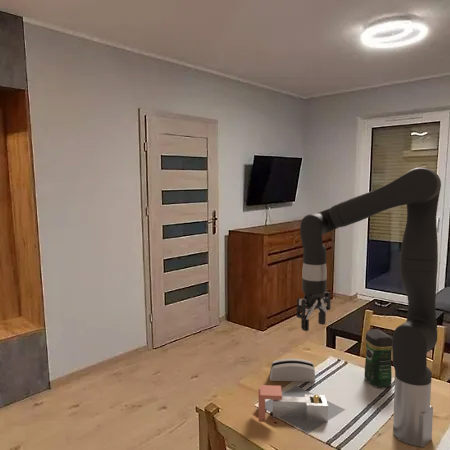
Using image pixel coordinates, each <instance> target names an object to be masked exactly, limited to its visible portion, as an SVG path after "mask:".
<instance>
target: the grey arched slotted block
mask: <svg viewBox="0 0 450 450" xmlns="http://www.w3.org/2000/svg"><path fill="white" fill-rule="evenodd" d="M315 373H316V372H315V365H314V363H313V361H310V360H307V359H302V358H282V359H277V360H273V361H272V362H271V366H270V371H269V375H268V378H269V380H270V382H305V383H306V382H311V383H313V382H316V374H315Z"/></svg>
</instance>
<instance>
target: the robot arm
mask: <svg viewBox="0 0 450 450" xmlns="http://www.w3.org/2000/svg"><path fill="white" fill-rule="evenodd" d="M441 181H442V180H441V178H440V176H439V175H438V174H437V172H435V170H432V169H430V168H426V167H415V168H412V169H410V170H408V171H407V172H406V173H405V174H403V175H401V176H400V177H398V178H396V179H394V180H393V181H391V182H388V183H387V184H385V185H383V186H381V187H379V188H377V189H374V190H371V191H369V192H365V193H363V194H360V195H358V196H355V197H352V198H349V199H347V200H344V201H342V202H340V203H337V204H335V205H332V206H331V207H330V208H327V209H325V210H321V211H318V212H315V213H311V214H307V215H305V216H303V218H302V219H301V221H300V225H299V233H300V238H301V245H302V249H303V252H302V253H303V254H302V269H301V272H302V274H301V275H302V276H301V290H302V293H304V295H303V298H301V297H298V298H297V300H296V315H295V316H296V317H297V318H299V319H301V320H300V321H301V322H300V323H301V325H300V327H301V330H302V331H304V332H308V331H309V330H310V329H309V328H310V320H309V319H310V316H311V314H313V313H314V311H315V310H317V311H318V321H317V322H318V324H319V325H322V326H325V325H326V320H327V318H326V317H327V316H326V315H327V313H328V311H330V310H331V292H329V291H327V286H328V285H327V284H328V283H327V279H328V278H327V277H328V276H327V275H328V270H327V269H328V268H327V248H326V246H325V245H324V243H323V235H325V234H327V233H329V232H332V231H335V230H336V229H339V228H344V227H347V226H349V225H352V224H355V223H357V222H361V221H364V220H365V219H368V218H370V217H373V216H375V215H376V214H379V213H382V212H384V211H386V210H389V209H392V208H393V209H394V208H396V207H399V206H405V205H406V213H407V214H406V224H405V228H404V233H403V235H402V242H401V245H400V247H401V248H400V257H399V258H400V260H399V263H400V264H399V271H400V273H399V274H400V278H401V279H400V280H401V282H402V284H403V287H404V290H405V293H406V297H407V315H406V317H407V318H406V321H405V322H403V323H402V324H400V325H398V326H396V328H395V329H394V331H393V334H392V355H391V361H392V366H393V368H394V394H393V416H392V417H393V421H392V422H393V423H392V433H393V435H394V437H395V438H396V439H397V440H399V441H400V442H402V443H404V444H407V445H411V446H415V447H420V448H424V447H425V446H426V445H427V444H428V443H429V442H430V441H431V440H432V439H433V420H434V419H433V418H434V417H433V415H434V406H433V405H431V398H432V397H431V394H432V377H433V376H432V375H433V374H432V370H431V369H430V367H428V366H427V365H428V361H427V360H428V359H427V358H428V356H427V355H428V352H430V351H432V350H433V349H434V348H435V346H436V345H437V342H438V324H437V313H436V298H437V279H438V267H439V266H438V265H439V264H438V263H439V246H438V245H439V243H438V229H437V213H438V205H439V198H440V194H441V190H442V189H441V188H442V182H441Z"/></svg>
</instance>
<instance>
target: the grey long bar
mask: <svg viewBox="0 0 450 450" xmlns="http://www.w3.org/2000/svg"><path fill="white" fill-rule="evenodd" d="M314 395H315V394H314ZM314 395H309V394H304V397H288V396H282V400H277V399H273V413H272V418H273V417H274V418H280V417H293V418H306V420H307V421H318V422H325V423H328V422H329V420H328V404H327V401H328V400H327V398H326V395H325V394H317V395H318V396H319V403H313V397H314Z"/></svg>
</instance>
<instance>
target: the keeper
mask: <svg viewBox="0 0 450 450" xmlns="http://www.w3.org/2000/svg"><path fill="white" fill-rule="evenodd" d="M282 391H283V390H282V385H267V384H263V385H262V384H260V385H259V388H258V422H262V423H263V422H264V423H265V420H266V409H265V402H266V400H270V399H277V400H282V393H283V392H282Z"/></svg>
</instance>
